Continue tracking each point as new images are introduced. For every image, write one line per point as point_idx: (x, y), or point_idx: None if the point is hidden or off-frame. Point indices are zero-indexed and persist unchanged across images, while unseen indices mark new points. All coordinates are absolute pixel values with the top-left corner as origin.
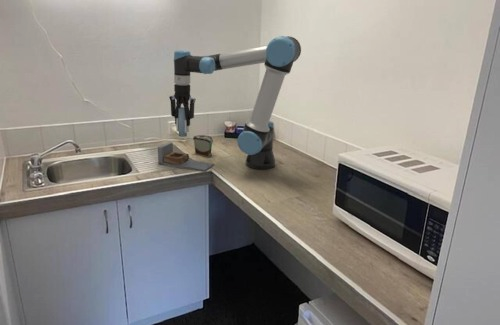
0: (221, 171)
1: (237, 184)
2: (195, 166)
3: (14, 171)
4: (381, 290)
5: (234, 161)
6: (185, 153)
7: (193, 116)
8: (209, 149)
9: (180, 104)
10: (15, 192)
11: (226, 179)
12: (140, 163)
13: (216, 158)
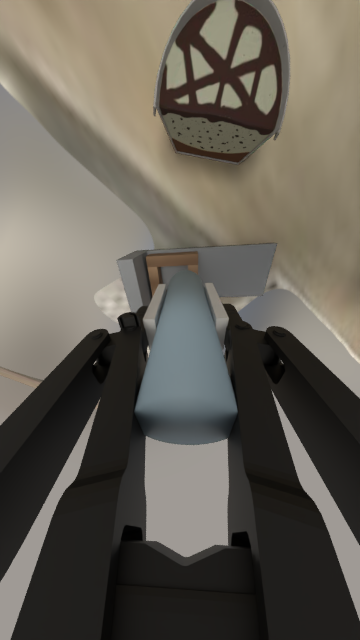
0: (301, 274)
1: (340, 322)
2: (234, 286)
3: (33, 383)
4: None
5: (349, 157)
6: (187, 255)
7: (292, 343)
8: (252, 151)
9: (134, 483)
10: (97, 406)
11: (316, 310)
12: (114, 309)
13: (270, 161)
